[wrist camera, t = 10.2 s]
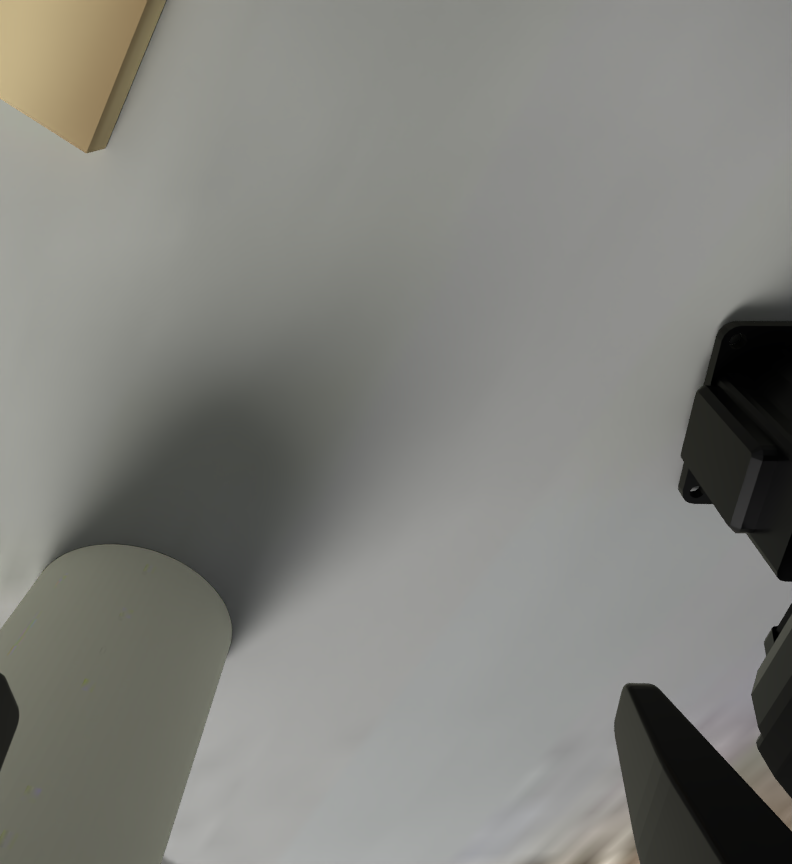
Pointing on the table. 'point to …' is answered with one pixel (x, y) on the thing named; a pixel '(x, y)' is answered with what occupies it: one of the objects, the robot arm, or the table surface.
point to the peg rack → (73, 62)
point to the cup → (106, 704)
